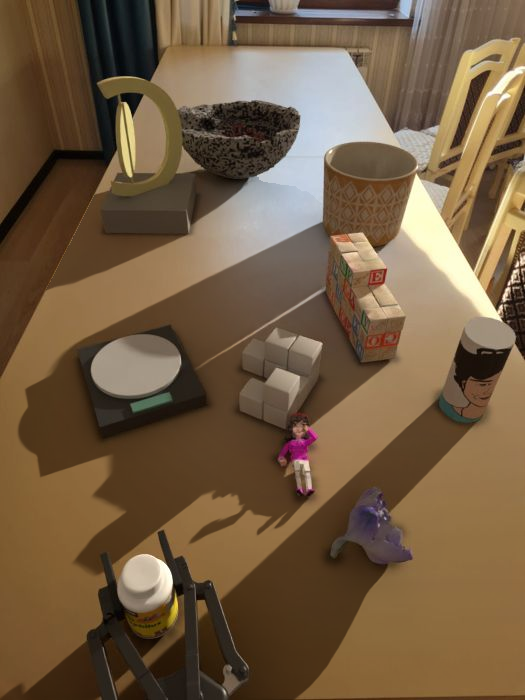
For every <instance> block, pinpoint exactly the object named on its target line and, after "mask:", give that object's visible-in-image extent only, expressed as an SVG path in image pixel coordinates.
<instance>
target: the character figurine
mask: <svg viewBox="0 0 525 700" xmlns="http://www.w3.org/2000/svg"><path fill="white" fill-rule="evenodd" d="M318 438H319V436H318V435H317V434H316V433H315V432H314V431H313V429H312V428H311V427H310V420H309V416H308V415H307V414H306V413H305V414H304V413H303V412H300V413H299V412H297V413H296V414H293V415H292V416H290V421H289V424H288V426H287V429H286V435H285V434H284V436H283V440H284V442H285V443H284V446H283V447H282V450H281V452H280V453H279V455H278V457H277V461H278V463H279V464H280V467H284V466H285V467H286V466H287V463H288V461H287V458H285V456H286V455H287V452H288V451H289V454H290V455H291V456H290V460H289V465H291V467H292V468H294V473H295V480H296V486H297V488H296V489H295V493H296V494H297V495H298V497H303V496H304V491H303V486H302V479H301V475H302V476H303V477H304V486H305V495H306V497H309V498H310V497H312V496H313V495H314V493H315V491H316V490H315V488H312V487H313V486H312V475H311V468H310V462H309V458H308V455H307V454H308V452H309V447H310V446H311V445H312V444H313V443H314V442H316V441H317V440H318Z"/></svg>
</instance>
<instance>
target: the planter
mask: <svg viewBox="0 0 525 700" xmlns="http://www.w3.org/2000/svg"><path fill="white" fill-rule="evenodd" d="M418 168H419V162H418V159H417V158H416V157H415V155H413V154H412V153H411V152H409V151H408V150H406V149H403V148H401V147H398V146H395V145H392V144H388V143H385V142H384V143H383V142H377V141H351V142H344V143H340V144H338V145H335V146H333V147H330V148H329V149H328V150H327V151H326V152H325V154H324V156H323V191H322V193H323V196H322V199H323V200H322V201H323V202H322V226H323V228H324V231H325V232H326V233H327V234H328V236H329V237H330V236H335V235H343V234H346V235H347V234H353V233H363V234H364V235H365V237H366V238H367V240H368V242H369V243H370V245H371V246H372V248H375V247H380V246H384V245H387V244H389V243H390V242H391V241H393V240H394V239H395V238H396V237H397V236H398V234H399V233H400V230H401V227H402V223H403V221H404V217H405V213H406V210H407V206H408V202H409V199H410V196H411V194H412V193H411V192H412V189H413V186H414V182H415V179H416V175H417V171H418Z"/></svg>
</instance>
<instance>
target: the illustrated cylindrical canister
mask: <svg viewBox="0 0 525 700" xmlns="http://www.w3.org/2000/svg"><path fill="white" fill-rule="evenodd" d="M516 339H517V337H516V333H515V331H514V330H513V328H512V327H510V326H509V325H508V324H507V323H505V322H504V321H501V320H499V319H496V318H493V317H488V316H478V317H477V316H476V317H473V318H470V319H469V320H468V321H466V322H465V325H464V327H463V330H462V333H461V336H460V338H459V341H458V344H457V347H456V350H455V353H454V356H453V359H452V362H451V365H450V368H449V369H448V370H449V371H448V374H447V375H446V379H445V382H444V385H443V387H442V391H441V393H440V396H439V399H438V406H439V408H440V409H441V411H442V412H443V413H444V414H445V415H446V416H447V417H448V418H450V419H451V420H454V421H456V422H459V423H465V424H467V423H468V424H469V423H475V422H477V421H479V420H481V418H482V417H483V416H484V413H485V412H486V409H487V407H488V405H489V403H490V400H491V397H492V396H493V393H494V391H495V388H496V386H497V384H498V381H499V379H500V377H501V375H502V372H503V371H504V369H505V365H506V363H507V362H508V359H509V356H510V354H511V352H512V350H513V348H514V345H515V342H516Z"/></svg>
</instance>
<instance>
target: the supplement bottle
mask: <svg viewBox="0 0 525 700" xmlns="http://www.w3.org/2000/svg"><path fill="white" fill-rule="evenodd" d="M117 592H118V597H119V600H120V603H121V605H122V607H123V610H124V614H125V618H126V621H127V623H128V626H129V627H130V629H131V631H132V632H133V633H134V634H135V635H136V636H138V637H140V638H142V639H148V640H149V639H150V640H153V639H157V638H160V637H163V636H164V635H165V634H167V633H169V631H170V630H171V629H172V628H173V627H174V625H175V623H176V621H177V619H178V616H179V615H178V614H179V603H178V597H177V594H176V591H175V588H174V583H173V579H172V575H171V572H170V570H169V568H168V566H167V563H166V562H164V561H163V560H161V559H159V558H157V557H156V556H154V555H152V554H147V553H141V554H137V555H135V556H133V557H131V558H130V559H129V560H127V562H126V563H125V564H124V566H123V568H122V571H121V573H120V575H119V578H118V580H117Z"/></svg>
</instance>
